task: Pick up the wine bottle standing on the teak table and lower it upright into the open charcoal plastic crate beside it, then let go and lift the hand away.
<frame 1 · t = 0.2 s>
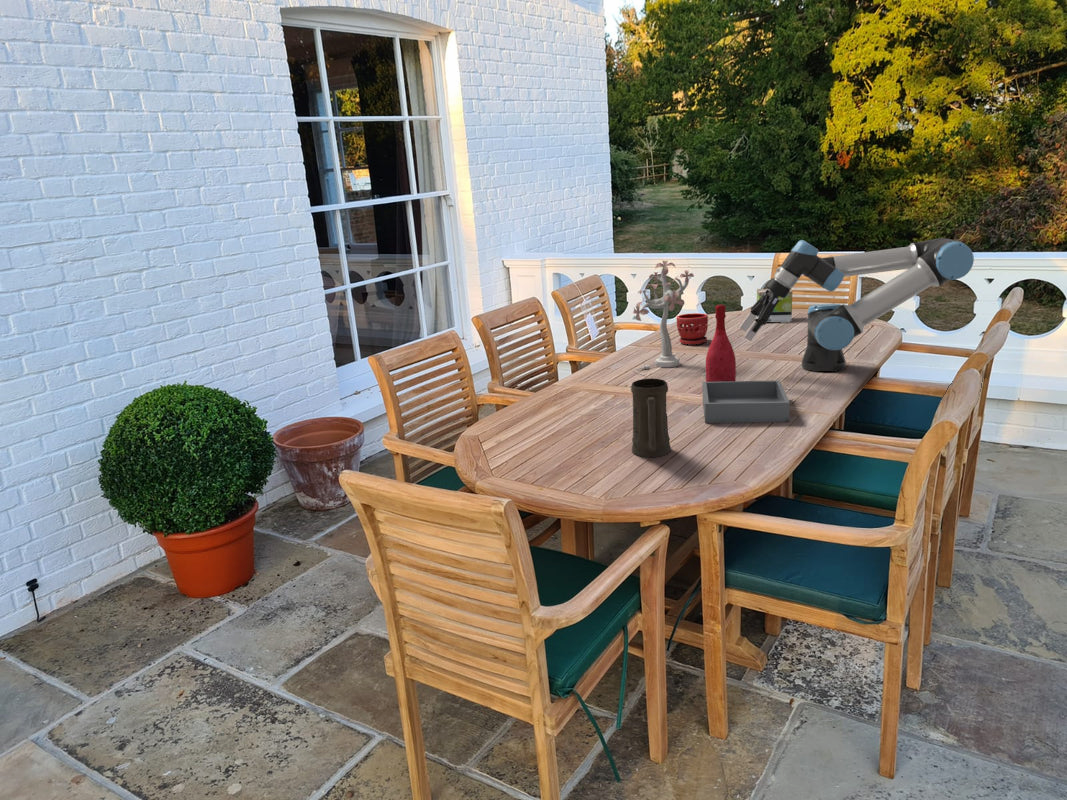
hand: (744, 334, 280), 16 cm above the table, tool tilted 35°, fingers open, 13 cm apart
tea box: (773, 321, 375), on the table
beer stein: (653, 454, 220), on the table
plant pot: (692, 343, 344), on the table
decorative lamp: (662, 366, 310), on the table
wine bottle: (720, 393, 271), on the table
crate: (743, 410, 251), on the table
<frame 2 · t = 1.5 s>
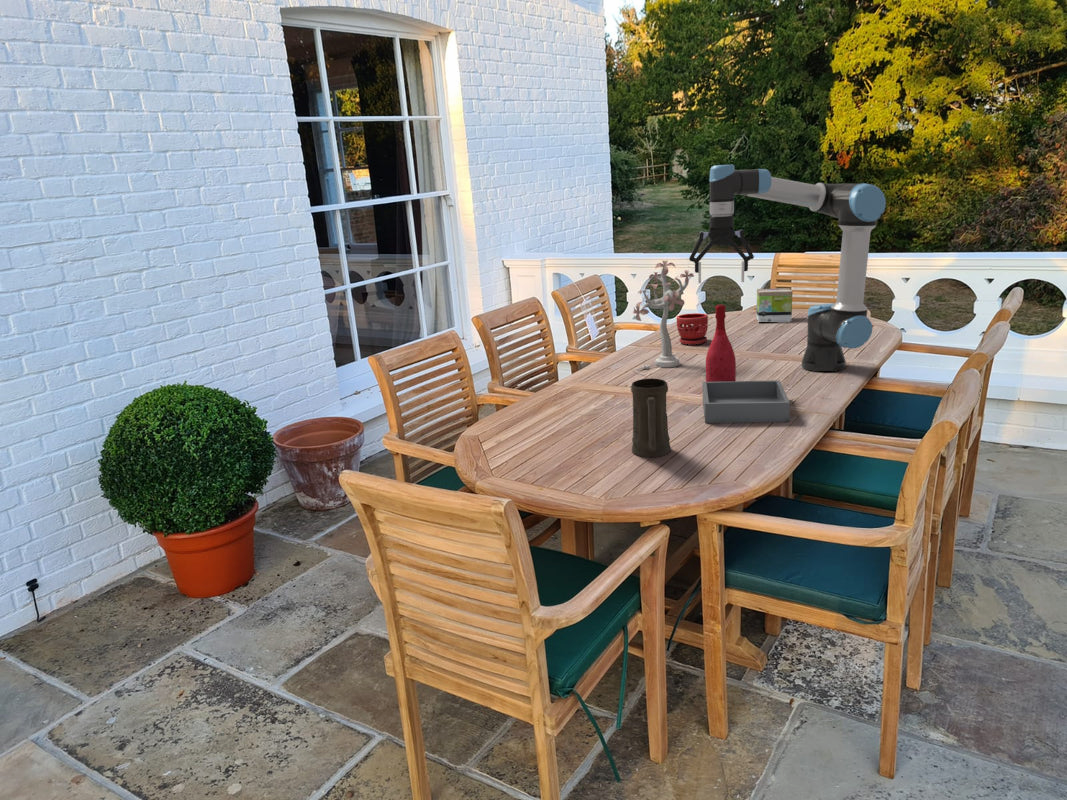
hand: (721, 282, 261), 37 cm above the table, tool pointing down, fingers open, 13 cm apart
nothing on the table moved.
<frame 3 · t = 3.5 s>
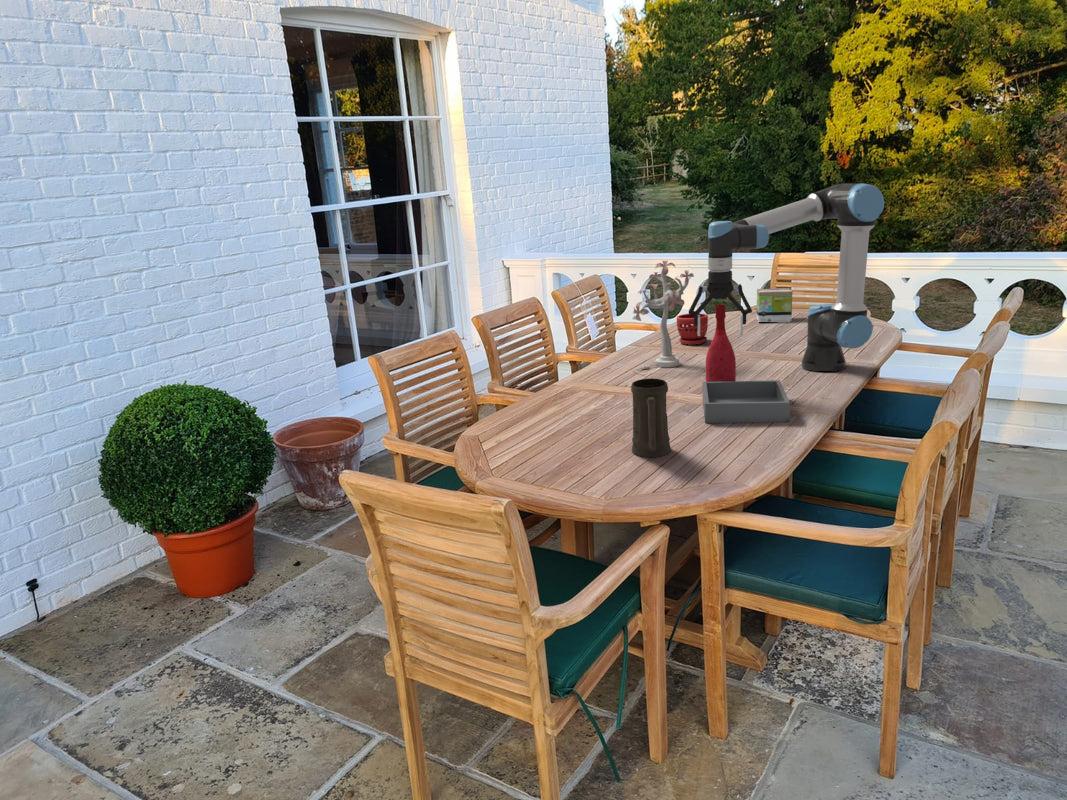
hand: (719, 334, 265), 20 cm above the table, tool pointing down, fingers open, 13 cm apart
nothing on the table moved.
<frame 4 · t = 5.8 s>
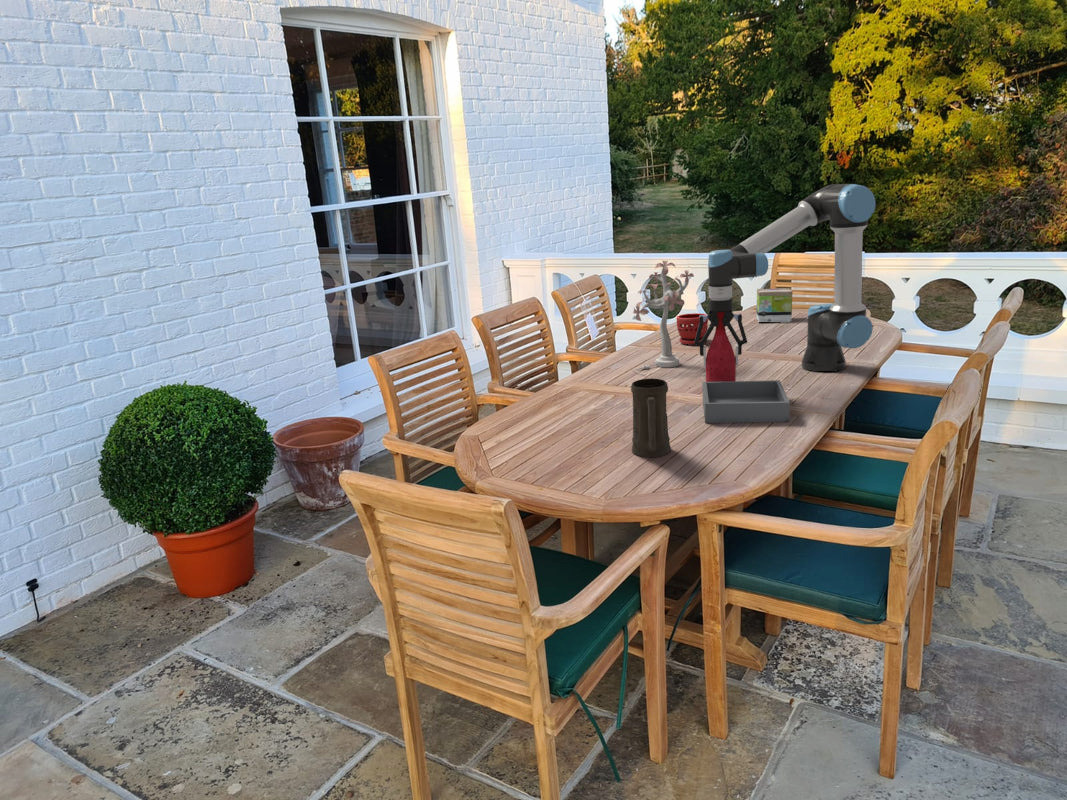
hand: (720, 364, 268), 10 cm above the table, tool pointing down, fingers closed on wine bottle, 10 cm apart
wine bottle: (720, 392, 271), on the table, touching gripper
everything else where it was.
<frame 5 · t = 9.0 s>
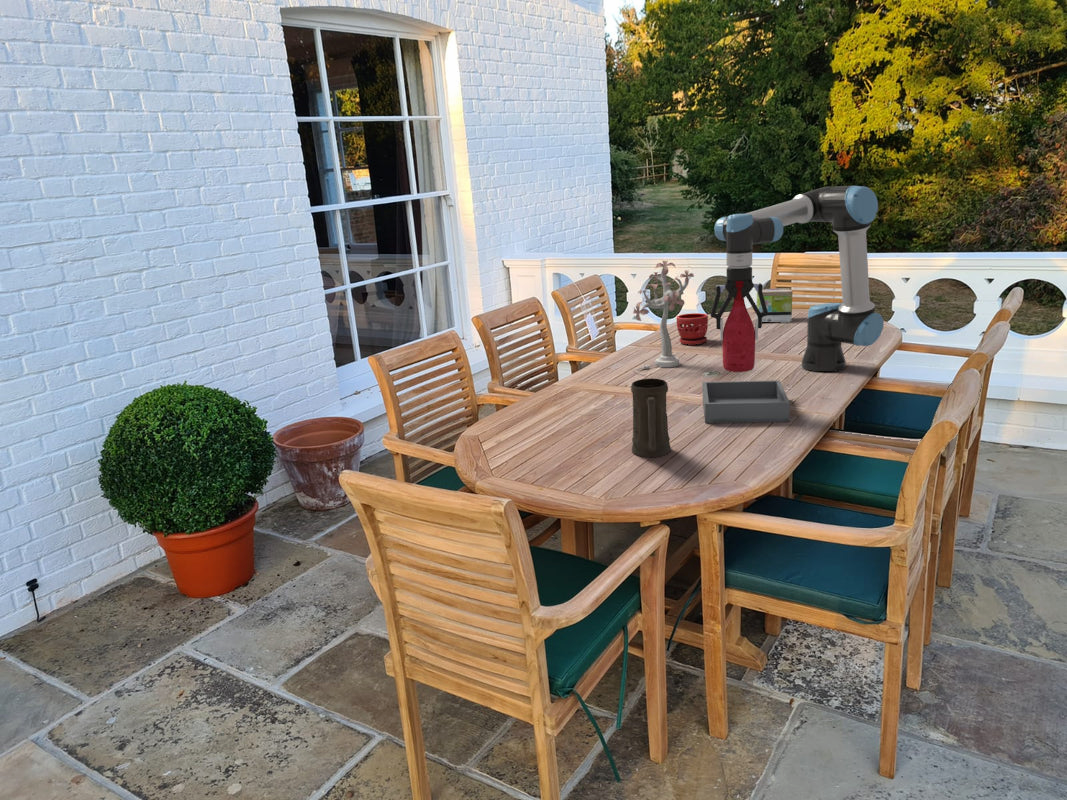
hand: (738, 339, 248), 22 cm above the table, tool pointing down, fingers closed on wine bottle, 10 cm apart
wine bottle: (738, 369, 251), point 12 cm above the table, touching gripper
everything else where it was.
when the fingers open (12 cm above the table, at t = 12.7 s): wine bottle stays where it is, resting on crate.
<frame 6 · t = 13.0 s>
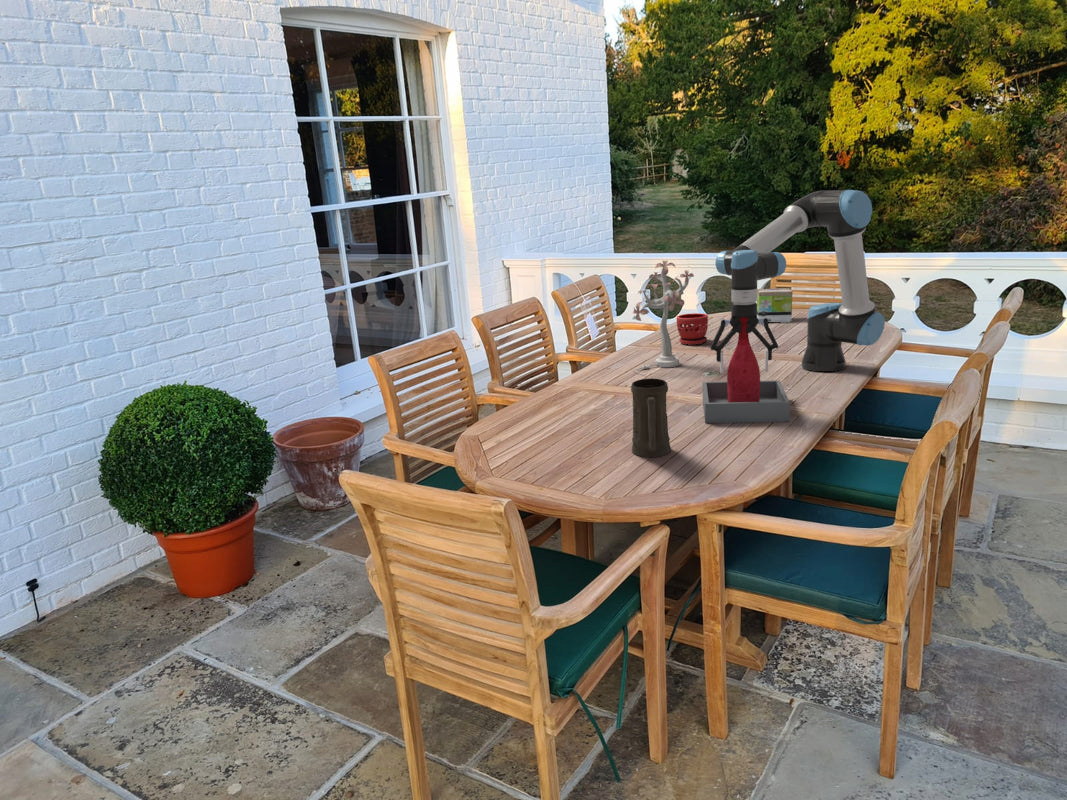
hand: (743, 371, 247), 13 cm above the table, tool pointing down, fingers open, 13 cm apart
wine bottle: (743, 407, 251), point 1 cm above the table, touching crate
everything else where it was.
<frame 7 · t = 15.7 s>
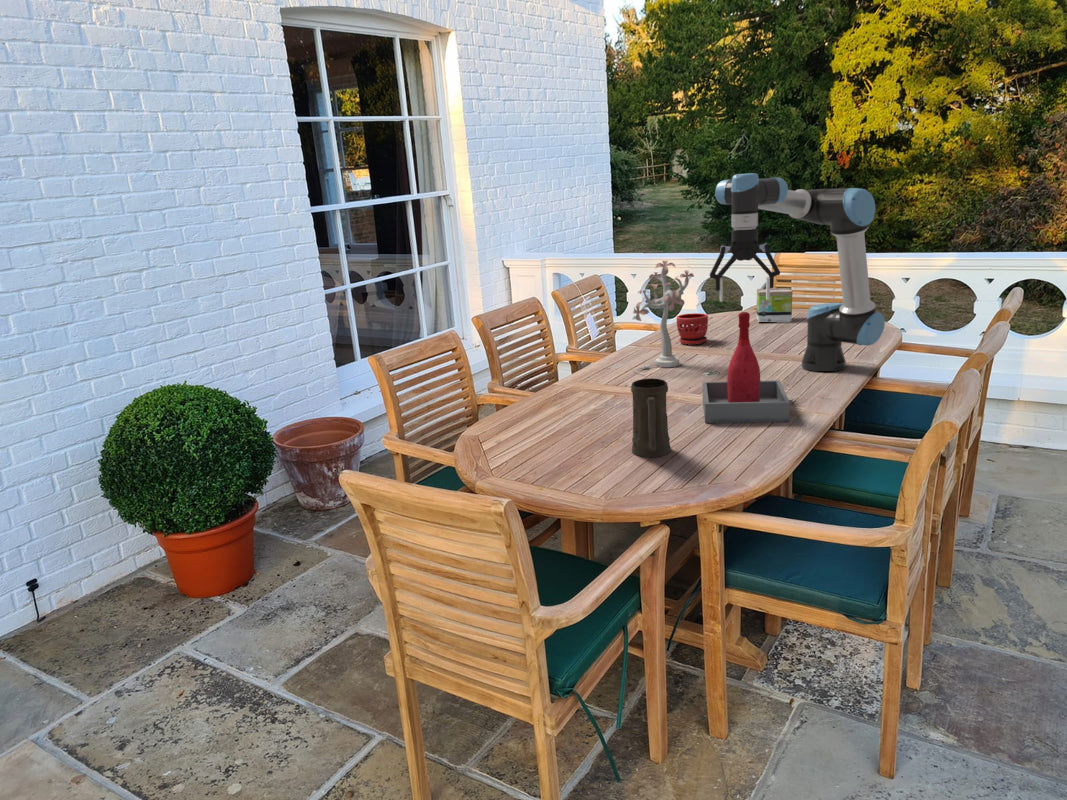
hand: (744, 300, 241), 35 cm above the table, tool pointing down, fingers open, 13 cm apart
nothing on the table moved.
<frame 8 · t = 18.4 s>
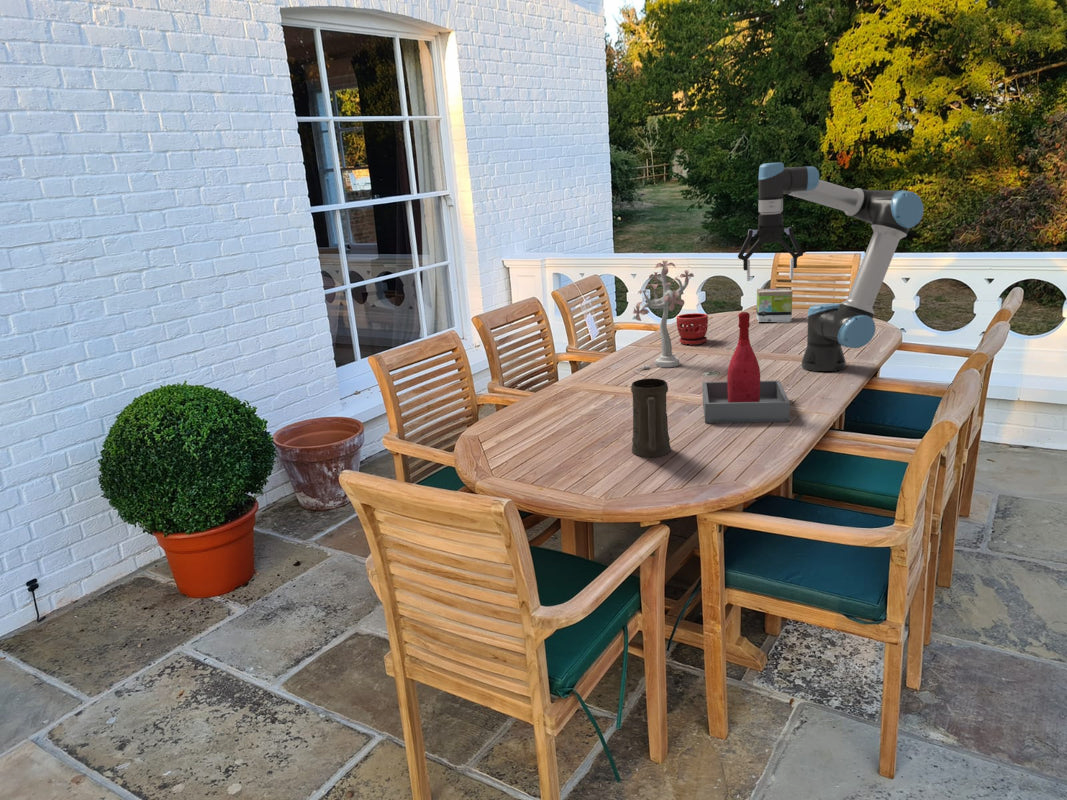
hand: (769, 279, 262), 37 cm above the table, tool pointing down, fingers open, 13 cm apart
nothing on the table moved.
at the end: wine bottle inside the target area on the crate (0.0 cm from its centre), point 0.8 cm above the crate's base; wine bottle tilted 0°; the gripper is holding nothing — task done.
